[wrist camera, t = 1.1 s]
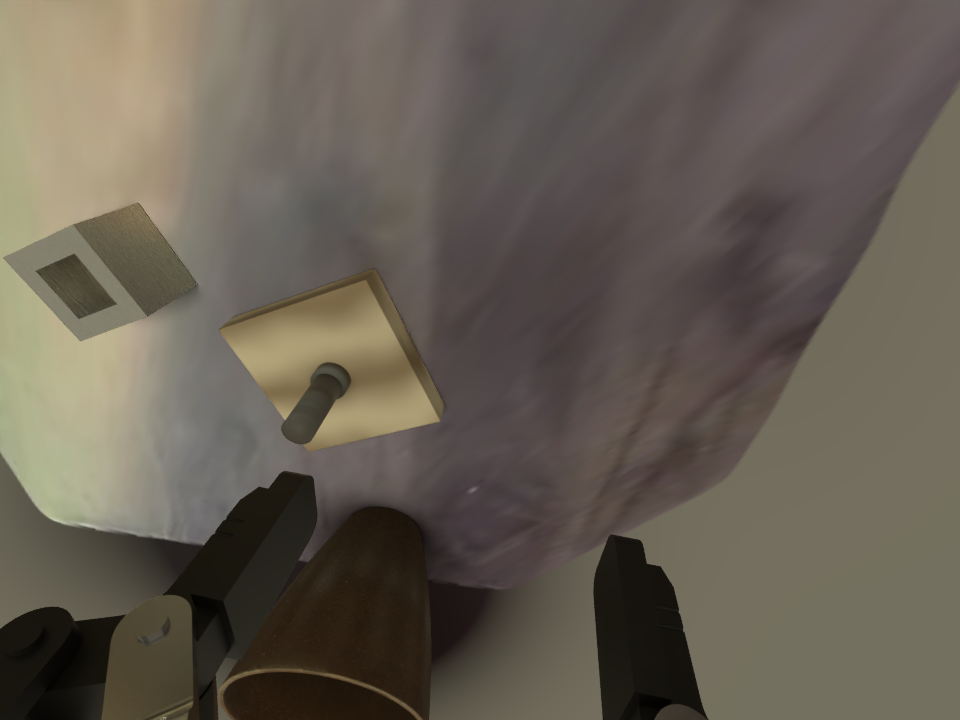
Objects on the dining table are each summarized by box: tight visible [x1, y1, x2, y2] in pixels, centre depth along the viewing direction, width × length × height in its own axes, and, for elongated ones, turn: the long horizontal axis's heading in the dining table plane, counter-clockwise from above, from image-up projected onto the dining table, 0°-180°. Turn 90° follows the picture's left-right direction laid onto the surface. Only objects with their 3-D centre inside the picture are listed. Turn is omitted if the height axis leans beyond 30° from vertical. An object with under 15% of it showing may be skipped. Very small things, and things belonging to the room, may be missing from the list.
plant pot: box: [219, 507, 431, 720], centre depth 39 cm, size 15×15×16 cm
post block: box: [219, 268, 444, 452], centre depth 31 cm, size 12×12×8 cm
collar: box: [3, 203, 197, 341], centre depth 30 cm, size 6×6×5 cm
